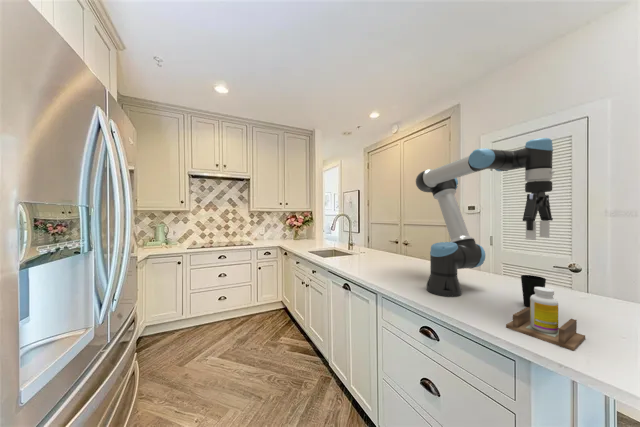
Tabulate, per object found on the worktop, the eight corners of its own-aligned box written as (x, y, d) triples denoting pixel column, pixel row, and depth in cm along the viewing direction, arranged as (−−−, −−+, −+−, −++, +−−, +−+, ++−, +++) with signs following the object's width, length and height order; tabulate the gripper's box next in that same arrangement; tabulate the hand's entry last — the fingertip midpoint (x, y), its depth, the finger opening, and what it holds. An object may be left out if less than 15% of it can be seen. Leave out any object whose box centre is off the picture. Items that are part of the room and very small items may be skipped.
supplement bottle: (563, 335, 73) (564, 293, 73) (538, 332, 75) (538, 291, 75) (548, 325, 80) (549, 286, 80) (525, 323, 82) (525, 285, 81)
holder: (505, 327, 81) (506, 312, 81) (520, 318, 87) (520, 305, 87) (573, 350, 67) (573, 332, 67) (585, 338, 74) (585, 322, 74)
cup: (550, 311, 94) (551, 280, 94) (528, 309, 96) (528, 279, 95) (537, 303, 102) (537, 275, 101) (516, 302, 103) (516, 274, 103)
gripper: (539, 177, 80) (538, 241, 80) (563, 182, 93) (562, 237, 94) (511, 180, 87) (511, 239, 87) (537, 184, 100) (537, 235, 100)
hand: (537, 238), depth 90 cm, fingers open, 13 cm apart
